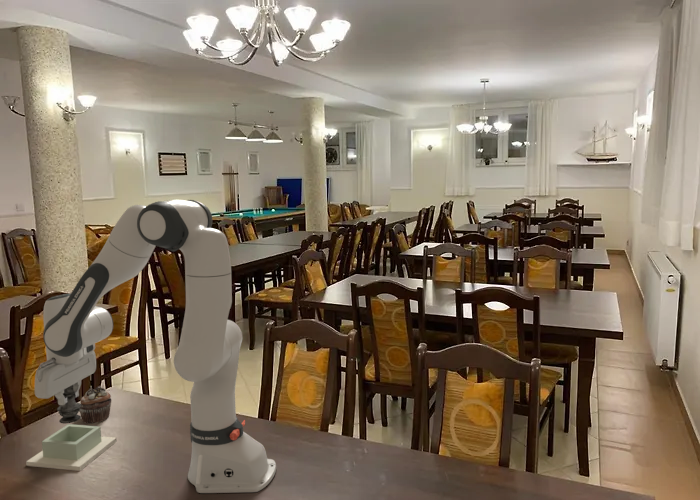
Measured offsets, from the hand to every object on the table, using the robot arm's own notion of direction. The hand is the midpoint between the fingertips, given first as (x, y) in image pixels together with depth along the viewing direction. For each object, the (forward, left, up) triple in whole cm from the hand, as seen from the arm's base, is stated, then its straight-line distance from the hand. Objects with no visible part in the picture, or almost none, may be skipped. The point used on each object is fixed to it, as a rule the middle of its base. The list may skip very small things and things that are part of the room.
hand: (68, 400), depth 148 cm
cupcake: (+8, -21, -16) cm, 27 cm away
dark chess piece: (0, 0, -6) cm, 6 cm away
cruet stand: (0, 0, -15) cm, 15 cm away
